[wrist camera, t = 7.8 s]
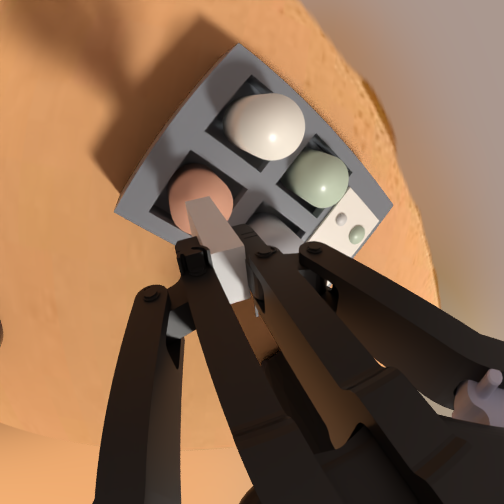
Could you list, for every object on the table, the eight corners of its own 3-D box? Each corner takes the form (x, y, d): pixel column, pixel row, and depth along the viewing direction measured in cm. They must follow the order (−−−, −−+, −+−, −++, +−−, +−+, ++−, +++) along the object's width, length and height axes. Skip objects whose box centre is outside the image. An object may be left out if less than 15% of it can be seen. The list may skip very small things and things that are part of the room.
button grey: (227, 244, 24) (242, 271, 20) (258, 203, 23) (280, 224, 20) (263, 264, 27) (282, 292, 23) (292, 228, 26) (317, 251, 22)
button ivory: (210, 128, 19) (225, 132, 15) (246, 84, 18) (269, 79, 14) (254, 160, 21) (277, 173, 18) (287, 119, 20) (316, 123, 17)
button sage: (269, 174, 24) (292, 188, 20) (299, 136, 23) (326, 144, 20) (301, 200, 26) (326, 217, 23) (328, 165, 26) (357, 177, 22)
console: (120, 194, 22) (113, 213, 18) (223, 53, 19) (240, 41, 15) (290, 288, 34) (309, 313, 30) (367, 191, 31) (395, 206, 27)
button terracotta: (157, 197, 22) (158, 217, 18) (187, 153, 21) (195, 163, 17) (199, 222, 24) (209, 245, 20) (229, 181, 23) (245, 197, 20)
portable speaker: (283, 380, 44) (335, 475, 28) (244, 369, 39) (297, 485, 23) (319, 348, 42) (385, 443, 26) (285, 331, 37) (358, 450, 21)
